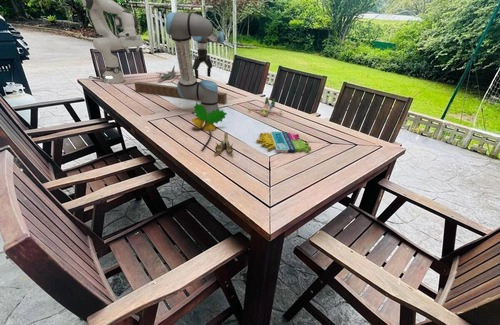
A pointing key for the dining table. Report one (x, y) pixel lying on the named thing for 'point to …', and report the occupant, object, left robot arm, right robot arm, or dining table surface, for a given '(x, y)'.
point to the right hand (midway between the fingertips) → (203, 77)
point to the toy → (266, 108)
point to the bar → (168, 91)
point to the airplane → (168, 75)
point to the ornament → (207, 117)
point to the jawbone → (224, 145)
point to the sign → (283, 142)
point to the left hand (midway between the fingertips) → (133, 52)
